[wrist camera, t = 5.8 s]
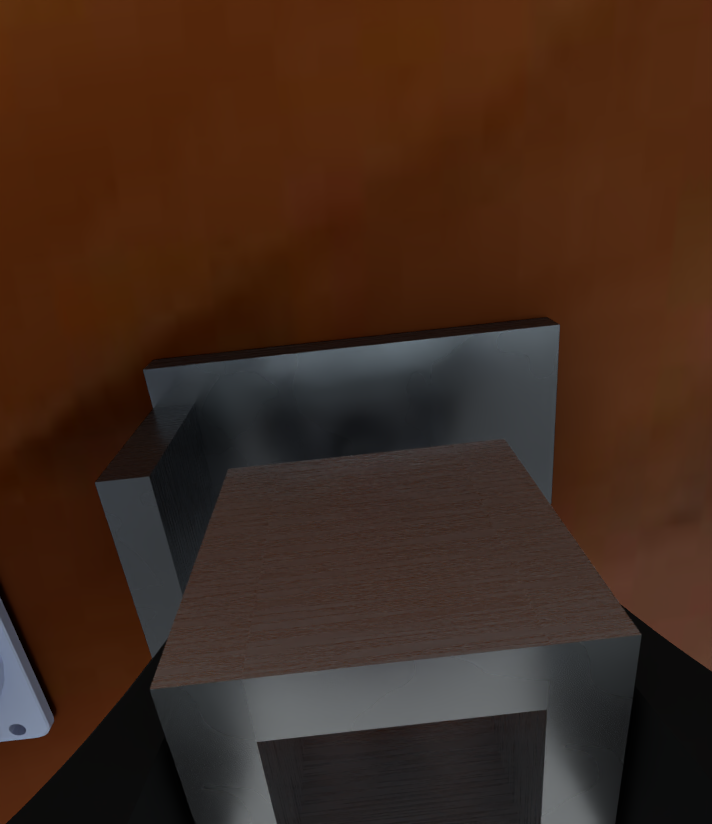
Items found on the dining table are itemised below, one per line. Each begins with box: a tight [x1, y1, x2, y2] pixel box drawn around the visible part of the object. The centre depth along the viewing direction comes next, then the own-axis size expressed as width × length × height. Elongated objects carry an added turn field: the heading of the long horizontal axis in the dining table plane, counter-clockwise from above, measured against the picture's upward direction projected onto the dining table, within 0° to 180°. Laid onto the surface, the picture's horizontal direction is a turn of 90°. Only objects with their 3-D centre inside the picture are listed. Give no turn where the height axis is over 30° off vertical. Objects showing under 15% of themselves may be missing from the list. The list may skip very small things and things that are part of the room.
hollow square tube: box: [150, 439, 642, 824], centre depth 9 cm, size 5×5×5 cm
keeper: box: [95, 317, 560, 658], centre depth 13 cm, size 10×8×5 cm
